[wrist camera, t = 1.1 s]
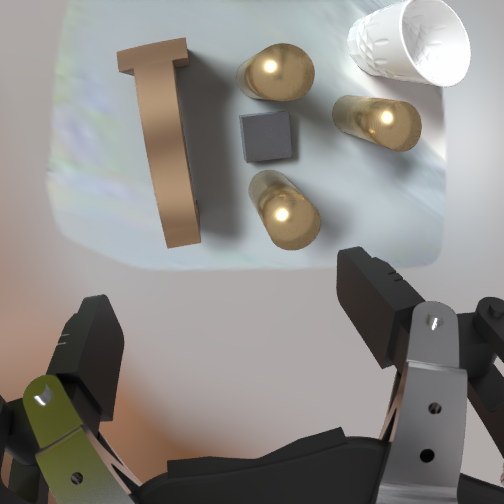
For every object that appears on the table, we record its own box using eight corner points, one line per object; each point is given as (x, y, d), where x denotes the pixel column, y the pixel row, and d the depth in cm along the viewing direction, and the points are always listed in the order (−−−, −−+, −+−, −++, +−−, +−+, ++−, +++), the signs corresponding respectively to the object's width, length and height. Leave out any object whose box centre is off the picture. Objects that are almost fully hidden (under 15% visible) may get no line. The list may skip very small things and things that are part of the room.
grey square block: (238, 115, 27) (241, 116, 25) (282, 110, 28) (288, 112, 26) (243, 158, 29) (246, 162, 27) (286, 152, 30) (292, 157, 28)
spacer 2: (246, 172, 30) (266, 204, 22) (287, 167, 30) (320, 197, 22) (250, 211, 32) (270, 254, 24) (289, 205, 32) (320, 245, 24)
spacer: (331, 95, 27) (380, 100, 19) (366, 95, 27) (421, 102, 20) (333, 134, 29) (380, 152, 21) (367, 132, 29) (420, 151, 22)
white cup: (404, 21, 23) (468, 12, 15) (405, 86, 27) (471, 95, 19) (339, 6, 22) (396, -18, 14) (342, 77, 26) (401, 77, 18)
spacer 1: (234, 59, 24) (251, 44, 16) (277, 56, 25) (311, 43, 17) (238, 100, 26) (257, 103, 18) (281, 97, 26) (316, 100, 19)
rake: (210, 213, 31) (214, 240, 26) (161, 222, 30) (154, 250, 25) (187, 49, 23) (185, 37, 18) (132, 60, 22) (116, 52, 17)
